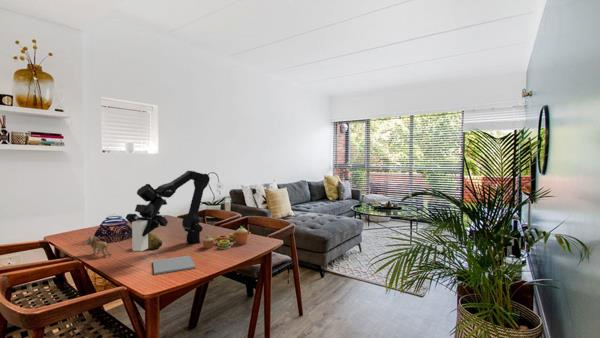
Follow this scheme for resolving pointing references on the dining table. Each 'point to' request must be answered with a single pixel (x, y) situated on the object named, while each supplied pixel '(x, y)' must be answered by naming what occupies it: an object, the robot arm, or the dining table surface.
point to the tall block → (139, 235)
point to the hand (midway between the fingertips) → (138, 235)
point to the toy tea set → (227, 239)
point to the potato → (153, 241)
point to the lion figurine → (97, 245)
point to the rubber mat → (173, 264)
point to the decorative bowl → (108, 232)
